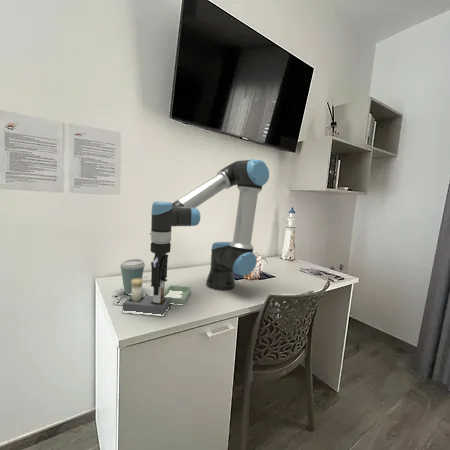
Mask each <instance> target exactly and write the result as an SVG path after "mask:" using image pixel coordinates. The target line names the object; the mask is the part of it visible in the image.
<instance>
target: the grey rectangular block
mask: <svg viewBox="0 0 450 450" xmlns="http://www.w3.org/2000/svg"><path fill="white" fill-rule="evenodd" d="M131 297H132V295H129V297H128V298H126V299H125V301H123V303H122V311H123V310H124V311H136V312H143V313H152V314H161V315H163V314H164V313H165V312H166V310H167V309H168V307H169V306H170V307H171V305H170V298H166V297H164V303H163V305H161V304H154V302H153V295H145V294H142V298H141V302H132V301H131ZM168 310H169V309H168ZM166 313H167V312H166Z"/></svg>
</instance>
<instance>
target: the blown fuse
mask: <svg viewBox="0 0 450 450" xmlns="http://www.w3.org/2000/svg"><path fill="white" fill-rule="evenodd" d="M165 283H166V281H163V280H161V281H160V286H161V299H160V303H155V302H154V304H161V305H163V303H164V291H165V290H164V287H165V285H166V284H165ZM165 288H166V287H165Z"/></svg>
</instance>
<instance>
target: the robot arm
mask: <svg viewBox="0 0 450 450" xmlns="http://www.w3.org/2000/svg"><path fill="white" fill-rule="evenodd" d="M268 167H269V166H267V164H266V163H265V161H264V160H262V159H255V158H254V159H253V158H251V159H247V160H246V159H242V160H236V161H233V162H232V163H230V164H228V165H226V166H224V168H222V169H220V170H219V171H217V172H216V174H215V176H213V177H211V178H210V179H208V180H207V181H205V182H203V183H202V184H200V185H199V186H197V187H196V188H194V189H193V190H191V191H190V192H188V193H186V194H184V195H183V196H181V197H180V198H178V199H177V200H175V201H173V202H170V201H154V202H153V203H152V204H151V221H150V223H151V227H150V229H151V230H150V231H151V232H150V233H149V235H150V241H151V242H150V252H151V253H152V254H154V257H153V261H151V262H150V265H151V266H150V267H151V275H150V276H151V278H150V279H151V283H150V284H151V285H150V287H151V288H152V287H153V290H152V291H153V292H152V296H153V302H155V303H160V299H161V286H160V281H161V280H163V281H165V282H167V281H168V279H167V278H168V262H169V261H168V259H169V254H168V253H171V250H172V249H171V247H172V245H171V244H172V243H171V241H172V227H194V226H195V227H196V226H198V225H199V224H200V222H201V211H200V209H198V208H197V207H199V206H200V205H202V204H203V203H205V202H206V201H208V200H210V199H211V198H213V197H214V196H215V195H217V194H218V193H220V192H222V191H223V190H224V189H226V190H228V189H230V188H231V187H234V186H236V188H237V189H238V191H239V194H238V202H237V210H236V215H235V216H236V217H235V223H234V224H235V225H234V232H233V239H232V241H217V242H213V243H212V244H211V252H210V253H211V255H210V270H209V273H208V275H207V278H206V283H205V284H206V287H208V288H209V287H210V289H212V288H213V289H212V290H216V289H217V290H218V291H229V290H232V289H234V288H235V285H236V280H235V277H234V274H235V275H239V276H243V277H244V276H248V275H250V274H251V273H252V272H253V271H254V269H255V268H256V266H257V262H258V261H257V256H256V254H255V253H254V246H253V245H252V238H253V233H254V232H253V231H254V223H255V217H256V210H257V203H258V195H259V194H260V193H261V192H262V191H263V186H264V185H266V184H267V182H268V181H269V178H270V169H269V168H268ZM165 288H166V287H164V291H165V290H166V289H165Z"/></svg>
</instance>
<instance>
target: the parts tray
mask: <svg viewBox="0 0 450 450" xmlns="http://www.w3.org/2000/svg"><path fill="white" fill-rule="evenodd" d="M170 290H172V291H182V292H183V293H182V294H180V295H182V297H181V298H172V297H166V298H170V303H174V304H183V305H184V304H186V303H187V301H188V299H189V298H188V297H190V296H191V294H192V287H191V286H182V285H174V284H169V285H168V286H167V287H166V289H165V290H164V297H165V296H166V295H167V294H168V293H169V291H170ZM190 293H191V294H190ZM189 295H190V296H189ZM186 300H187V301H186ZM185 302H186V303H185ZM184 306H185V305H184Z"/></svg>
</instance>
